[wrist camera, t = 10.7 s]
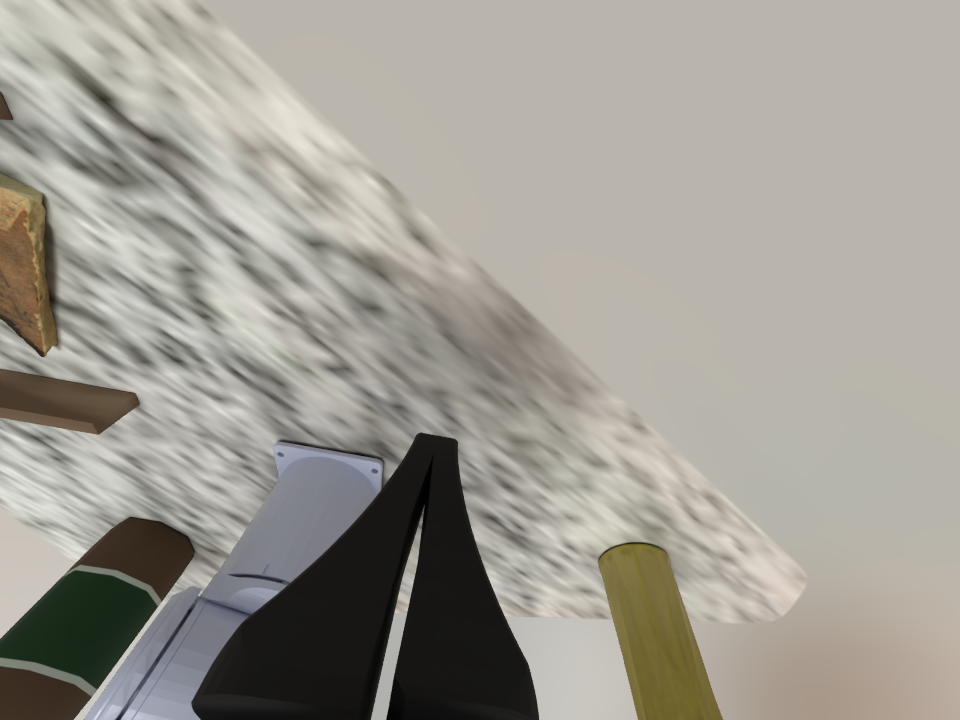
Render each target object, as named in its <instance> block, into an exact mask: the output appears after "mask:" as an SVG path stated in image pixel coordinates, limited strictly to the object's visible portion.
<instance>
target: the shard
mask: <svg viewBox="0 0 960 720" xmlns="http://www.w3.org/2000/svg"><path fill="white" fill-rule="evenodd" d="M42 201H43V194H42V193H40V192H39V191H36V190H35V189H33V188H30V187H28V186H26V185H23V184H22V183H20V182H18V181H16V180H14V179H11V178H9V177H8V176H5V175H3V174H1V173H0V319H1V320H3V321H4V322H5V323H6V324H7V325H8V326H10V327H11V328H12V329H13V330H14V331H15V332H16V333H17V334H18V335H19V336H20V337H21V338H23V339H24V340H25V341H26V343H27V344H29V345H30V346H31V347H32V348H33V349H35V350H36V352H37V353H38V354H39V355H40V356H41V357H45V356H46V354H47V352H48V351H49V350H50V349H51V347H52V346H53V345H56V344H58V339H57V335H56V326H55V322H54V318H53V315H52V310H51V306H50V300H49V291H48V283H47V280H46V278H45V270H46V268H45V250H44V249H45V246H44V242H45V240H44V233H45V215H46V210H45V208H44V206H43V203H42Z"/></svg>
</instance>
